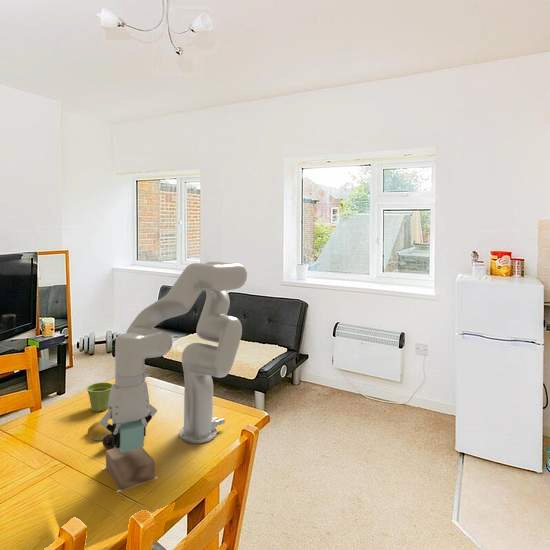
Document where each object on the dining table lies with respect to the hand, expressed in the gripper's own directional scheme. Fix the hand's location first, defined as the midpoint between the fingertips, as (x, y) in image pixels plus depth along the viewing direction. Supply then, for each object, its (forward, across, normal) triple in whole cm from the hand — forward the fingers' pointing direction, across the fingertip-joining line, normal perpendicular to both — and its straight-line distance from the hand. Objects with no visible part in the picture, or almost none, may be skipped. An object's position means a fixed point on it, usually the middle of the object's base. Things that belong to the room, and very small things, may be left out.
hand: (129, 442), depth 114 cm
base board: (+10, 0, 0) cm, 10 cm away
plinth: (+9, 0, 0) cm, 9 cm away
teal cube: (+1, 0, 0) cm, 1 cm away
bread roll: (+11, -1, -30) cm, 31 cm away
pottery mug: (+11, -3, -18) cm, 21 cm away
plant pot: (+10, -6, -50) cm, 52 cm away
